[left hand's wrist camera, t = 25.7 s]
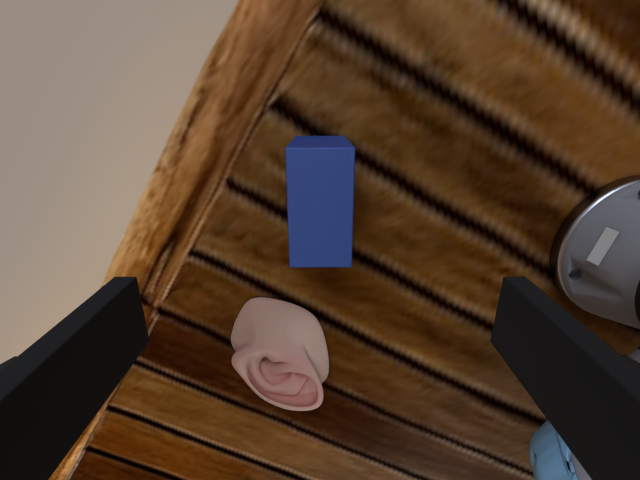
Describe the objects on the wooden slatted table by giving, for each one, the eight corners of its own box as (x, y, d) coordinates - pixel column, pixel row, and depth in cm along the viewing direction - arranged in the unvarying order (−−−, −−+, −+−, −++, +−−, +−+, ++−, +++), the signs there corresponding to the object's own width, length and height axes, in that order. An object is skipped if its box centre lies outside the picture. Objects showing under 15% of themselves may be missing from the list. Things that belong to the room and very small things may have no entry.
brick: (295, 135, 33) (285, 147, 23) (344, 135, 33) (355, 147, 23) (298, 224, 36) (289, 267, 26) (343, 224, 36) (351, 267, 26)
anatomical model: (217, 316, 35) (330, 316, 35) (226, 296, 39) (329, 296, 39) (229, 416, 40) (329, 416, 40) (236, 390, 44) (328, 390, 44)
